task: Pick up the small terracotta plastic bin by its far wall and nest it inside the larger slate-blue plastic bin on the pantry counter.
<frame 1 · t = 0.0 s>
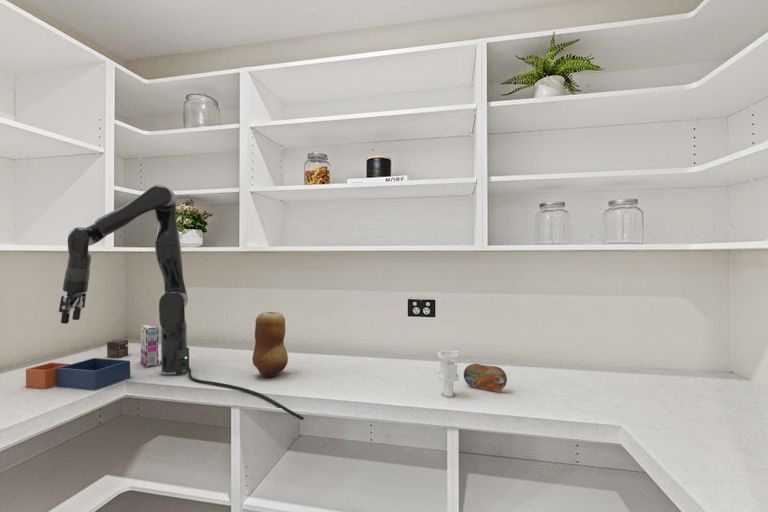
hand: (70, 321, 153), 22 cm above the worktop, tool pointing down, fingers open, 8 cm apart
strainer: (448, 395, 136), on the worktop
butternut squash: (269, 376, 158), on the worktop
box: (117, 356, 188), on the worktop
small bin: (48, 383, 149), on the worktop
tin: (485, 389, 141), on the worktop
candy bar box: (149, 364, 175), on the worktop
big bin: (94, 381, 151), on the worktop
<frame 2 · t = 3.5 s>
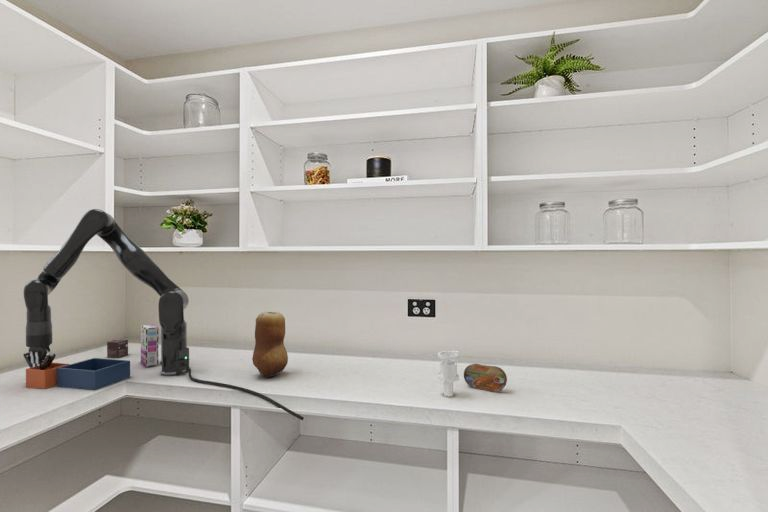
hand: (39, 378, 150), 2 cm above the worktop, tool pointing down, fingers closed on small bin
small bin: (48, 383, 149), on the worktop, touching gripper
everything else where it was.
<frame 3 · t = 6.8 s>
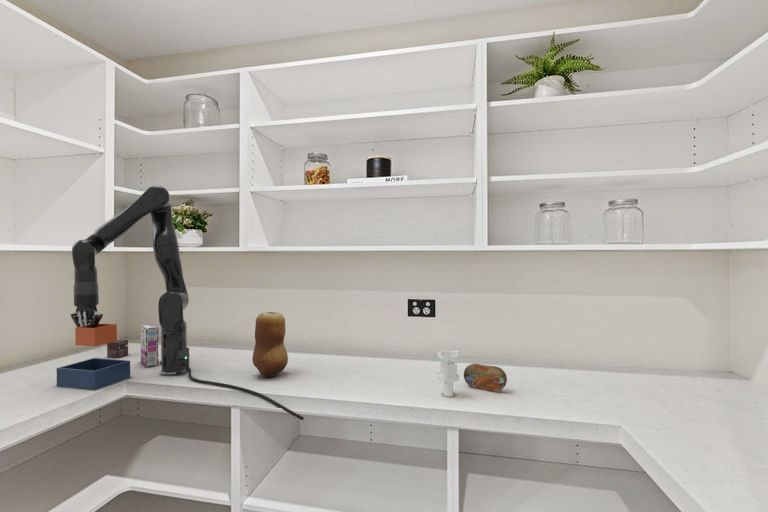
hand: (87, 338, 152), 16 cm above the worktop, tool pointing down, fingers closed on small bin
small bin: (96, 343, 151), point 15 cm above the worktop, touching gripper
everything else where it was.
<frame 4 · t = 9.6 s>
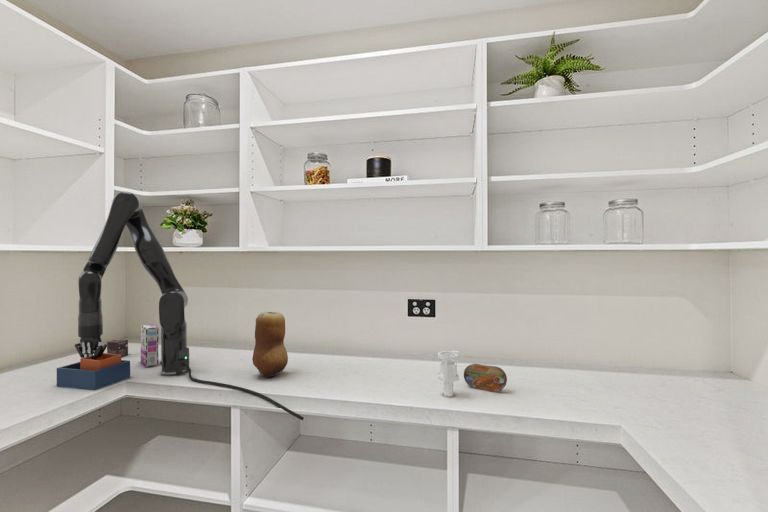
hand: (91, 369, 152), 5 cm above the worktop, tool pointing down, fingers closed on small bin
small bin: (100, 373, 151), point 3 cm above the worktop, touching gripper
everything else where it was.
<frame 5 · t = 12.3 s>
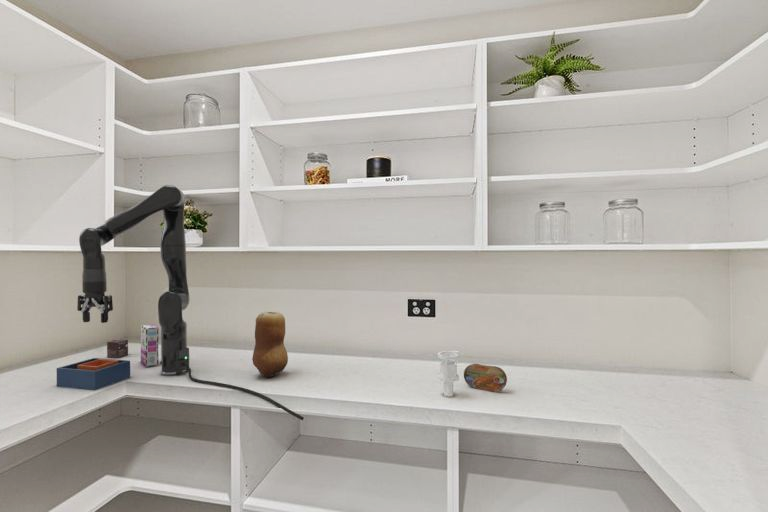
hand: (95, 322, 155), 22 cm above the worktop, tool pointing down, fingers open, 8 cm apart
small bin: (98, 379, 151), point 1 cm above the worktop, touching big bin
everything else where it was.
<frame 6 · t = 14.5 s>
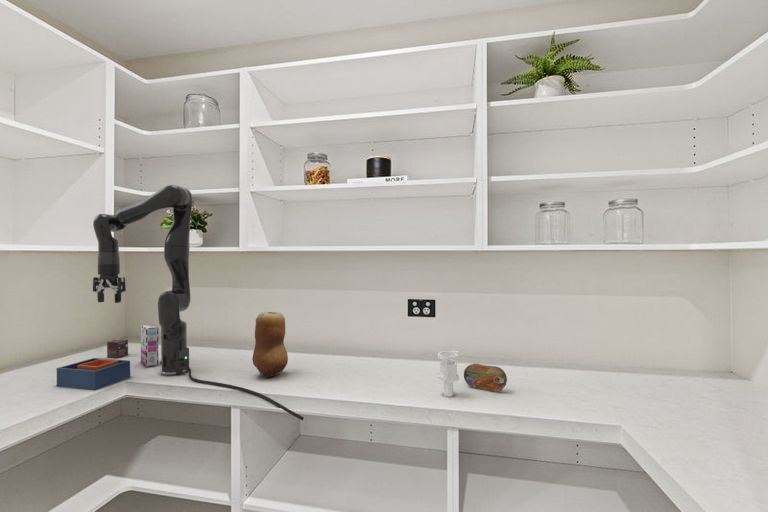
hand: (109, 302, 165), 28 cm above the worktop, tool pointing down, fingers open, 8 cm apart
nothing on the worktop moved.
at the end: small bin 1.1 cm from the target spot in the big bin, point 0.6 cm above the big bin's base; small bin tilted 0°; the gripper is holding nothing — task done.
